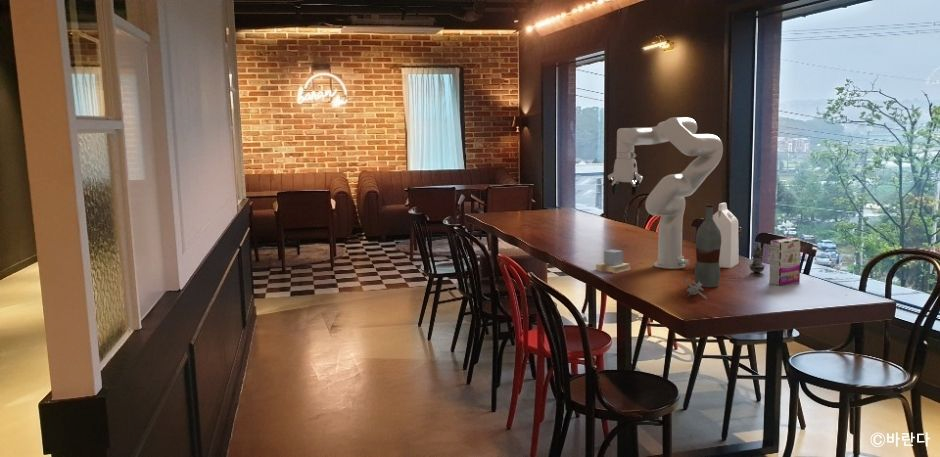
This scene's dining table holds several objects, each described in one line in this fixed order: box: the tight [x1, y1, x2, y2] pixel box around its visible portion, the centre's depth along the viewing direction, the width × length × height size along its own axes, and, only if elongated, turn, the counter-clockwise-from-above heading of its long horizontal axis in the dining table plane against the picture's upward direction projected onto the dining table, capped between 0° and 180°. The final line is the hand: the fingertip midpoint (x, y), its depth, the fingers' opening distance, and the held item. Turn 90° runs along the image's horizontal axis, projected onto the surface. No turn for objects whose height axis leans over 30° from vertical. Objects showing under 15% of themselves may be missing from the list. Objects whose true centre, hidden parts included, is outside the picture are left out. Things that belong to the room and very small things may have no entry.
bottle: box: [693, 203, 722, 288], centre depth 264 cm, size 9×9×30 cm
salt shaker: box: [748, 244, 766, 277], centre depth 282 cm, size 6×6×12 cm
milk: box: [713, 202, 740, 269], centre depth 303 cm, size 12×12×26 cm
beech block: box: [595, 261, 631, 274], centre depth 297 cm, size 10×10×3 cm
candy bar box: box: [768, 237, 802, 287], centre depth 266 cm, size 11×5×16 cm, turn 118°
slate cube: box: [603, 248, 624, 266], centre depth 296 cm, size 6×6×6 cm
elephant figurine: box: [683, 279, 708, 300], centre depth 247 cm, size 10×6×9 cm
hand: (624, 194), depth 320 cm, fingers open, 9 cm apart
